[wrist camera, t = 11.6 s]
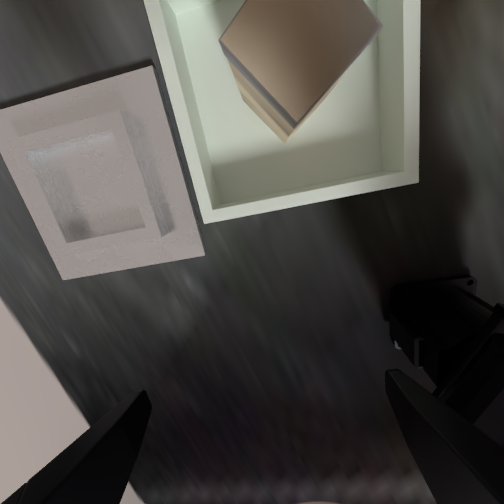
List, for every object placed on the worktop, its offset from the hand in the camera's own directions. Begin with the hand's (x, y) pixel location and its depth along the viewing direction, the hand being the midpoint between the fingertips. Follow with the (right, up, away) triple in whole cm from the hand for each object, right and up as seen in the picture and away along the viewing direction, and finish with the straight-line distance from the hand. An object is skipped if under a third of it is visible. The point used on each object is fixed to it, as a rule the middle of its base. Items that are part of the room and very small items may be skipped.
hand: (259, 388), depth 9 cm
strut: (+2, +15, +7) cm, 17 cm away
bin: (+2, +16, +8) cm, 18 cm away
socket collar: (-12, +10, +11) cm, 20 cm away
